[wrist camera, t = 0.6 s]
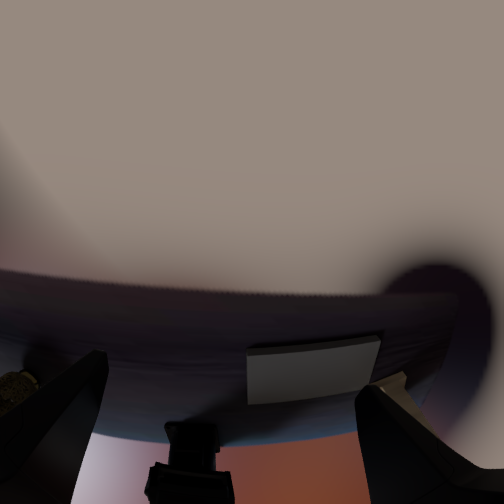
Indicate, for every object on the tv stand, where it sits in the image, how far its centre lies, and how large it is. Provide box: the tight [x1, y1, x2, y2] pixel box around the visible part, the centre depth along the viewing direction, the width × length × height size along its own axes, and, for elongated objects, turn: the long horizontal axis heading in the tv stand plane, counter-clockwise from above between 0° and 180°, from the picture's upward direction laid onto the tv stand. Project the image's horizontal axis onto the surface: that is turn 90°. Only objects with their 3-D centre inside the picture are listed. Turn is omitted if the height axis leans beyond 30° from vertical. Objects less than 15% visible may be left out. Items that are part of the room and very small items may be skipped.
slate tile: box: [246, 335, 381, 405], centre depth 27 cm, size 7×14×1 cm, turn 90°
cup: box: [0, 369, 40, 417], centre depth 22 cm, size 8×7×8 cm
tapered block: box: [369, 371, 440, 439], centre depth 25 cm, size 6×5×13 cm
